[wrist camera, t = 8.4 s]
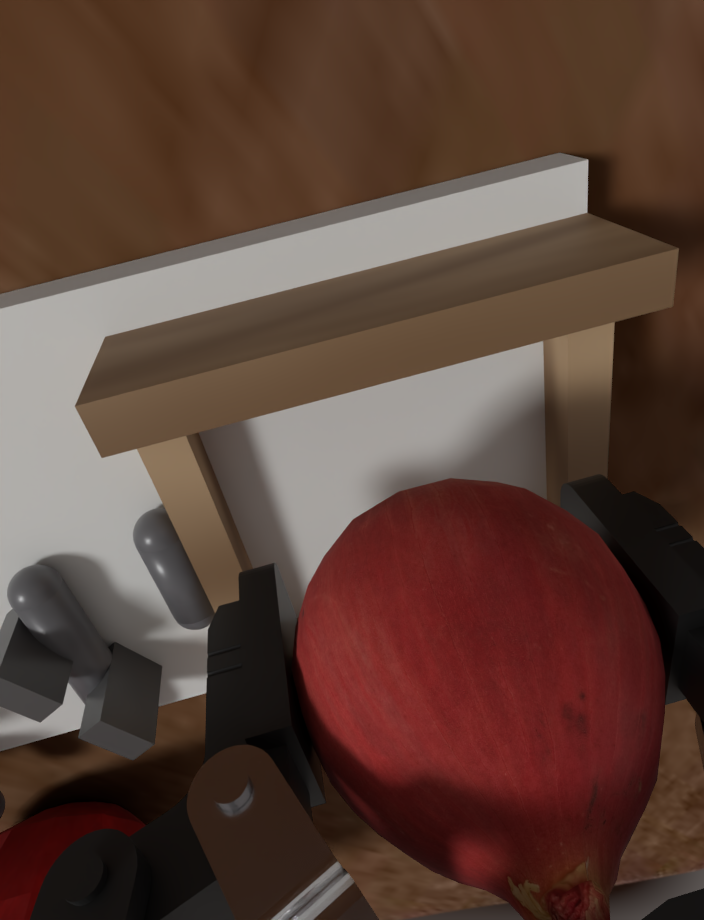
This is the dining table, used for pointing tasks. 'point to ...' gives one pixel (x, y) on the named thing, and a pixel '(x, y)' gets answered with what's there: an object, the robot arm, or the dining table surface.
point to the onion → (485, 691)
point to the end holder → (375, 358)
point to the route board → (229, 451)
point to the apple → (49, 848)
